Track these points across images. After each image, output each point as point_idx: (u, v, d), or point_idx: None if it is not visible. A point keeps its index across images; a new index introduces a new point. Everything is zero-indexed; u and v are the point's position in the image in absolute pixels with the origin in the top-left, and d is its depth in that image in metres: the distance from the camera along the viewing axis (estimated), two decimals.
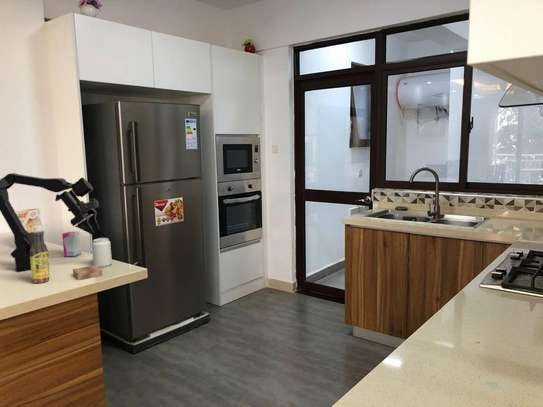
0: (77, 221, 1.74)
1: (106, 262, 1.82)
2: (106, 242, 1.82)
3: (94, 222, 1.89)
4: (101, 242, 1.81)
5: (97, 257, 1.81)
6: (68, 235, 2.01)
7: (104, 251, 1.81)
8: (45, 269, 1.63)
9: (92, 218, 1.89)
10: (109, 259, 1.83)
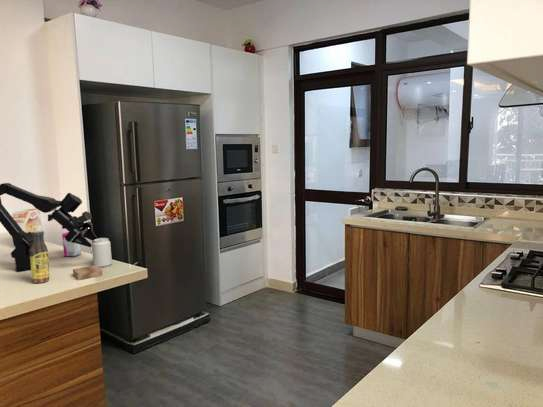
0: (71, 236, 1.73)
1: (106, 262, 1.82)
2: (106, 242, 1.82)
3: (92, 235, 1.88)
4: (101, 242, 1.81)
5: (97, 257, 1.81)
6: None
7: (104, 251, 1.81)
8: (45, 269, 1.63)
9: (89, 231, 1.88)
10: (109, 259, 1.83)
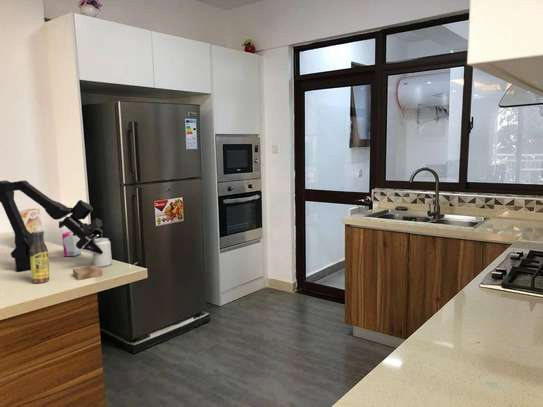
0: (82, 244, 1.74)
1: (106, 262, 1.82)
2: (106, 242, 1.82)
3: None
4: (101, 242, 1.81)
5: (97, 257, 1.81)
6: (68, 235, 2.01)
7: (104, 251, 1.81)
8: (45, 269, 1.63)
9: None
10: (109, 259, 1.83)
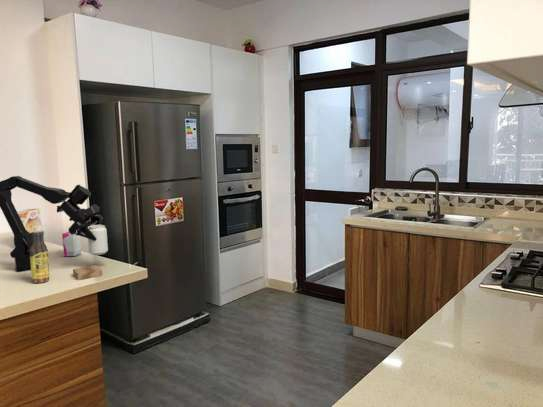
0: (74, 229, 1.70)
1: (100, 249, 1.77)
2: (101, 229, 1.77)
3: None
4: (95, 229, 1.76)
5: (91, 244, 1.76)
6: (68, 235, 2.01)
7: (98, 238, 1.76)
8: (45, 269, 1.63)
9: None
10: (104, 247, 1.78)
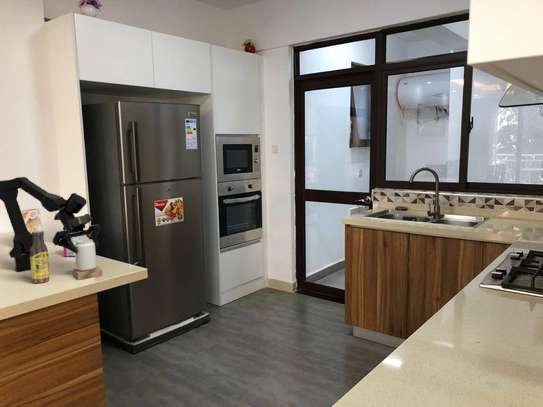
0: (55, 240, 1.64)
1: (83, 266, 1.67)
2: (84, 245, 1.66)
3: (94, 239, 1.74)
4: (79, 244, 1.66)
5: (76, 260, 1.68)
6: None
7: (81, 254, 1.66)
8: (45, 269, 1.63)
9: (92, 235, 1.74)
10: (88, 263, 1.67)
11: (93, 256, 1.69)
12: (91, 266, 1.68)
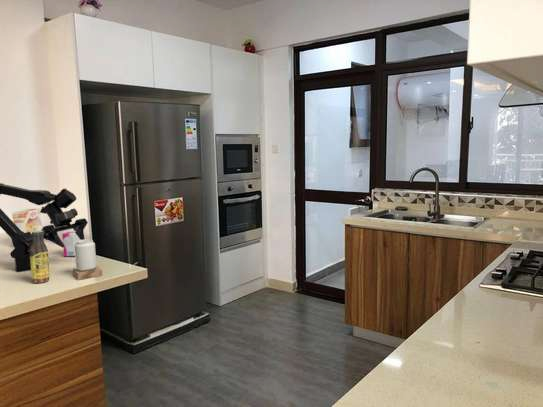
0: None
1: (83, 266, 1.67)
2: (85, 245, 1.66)
3: (80, 233, 1.80)
4: (79, 244, 1.66)
5: (76, 260, 1.68)
6: (68, 235, 2.01)
7: (81, 254, 1.66)
8: (45, 269, 1.63)
9: (78, 229, 1.80)
10: (88, 263, 1.67)
11: (93, 256, 1.69)
12: (91, 266, 1.68)
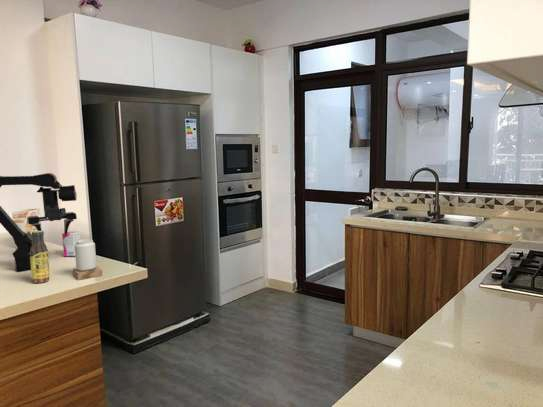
0: (27, 222, 1.79)
1: (83, 266, 1.67)
2: (85, 245, 1.66)
3: (65, 227, 1.87)
4: (79, 244, 1.66)
5: (76, 260, 1.68)
6: (68, 235, 2.01)
7: (81, 254, 1.66)
8: (45, 269, 1.63)
9: (65, 222, 1.87)
10: (88, 263, 1.67)
11: (93, 256, 1.69)
12: (91, 266, 1.68)
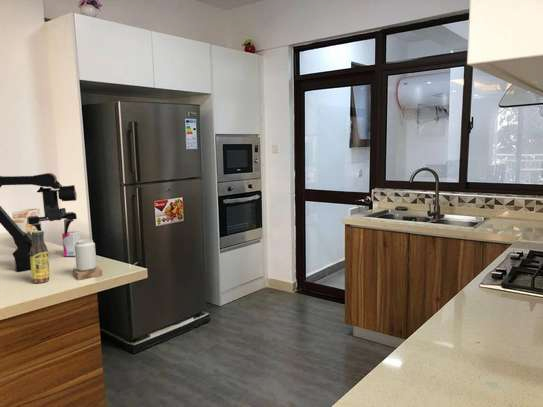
0: (27, 222, 1.79)
1: (83, 266, 1.67)
2: (85, 245, 1.66)
3: (65, 227, 1.87)
4: (79, 244, 1.66)
5: (76, 260, 1.68)
6: (68, 235, 2.01)
7: (81, 254, 1.66)
8: (45, 269, 1.63)
9: (65, 222, 1.87)
10: (88, 263, 1.67)
11: (93, 256, 1.69)
12: (91, 266, 1.68)
